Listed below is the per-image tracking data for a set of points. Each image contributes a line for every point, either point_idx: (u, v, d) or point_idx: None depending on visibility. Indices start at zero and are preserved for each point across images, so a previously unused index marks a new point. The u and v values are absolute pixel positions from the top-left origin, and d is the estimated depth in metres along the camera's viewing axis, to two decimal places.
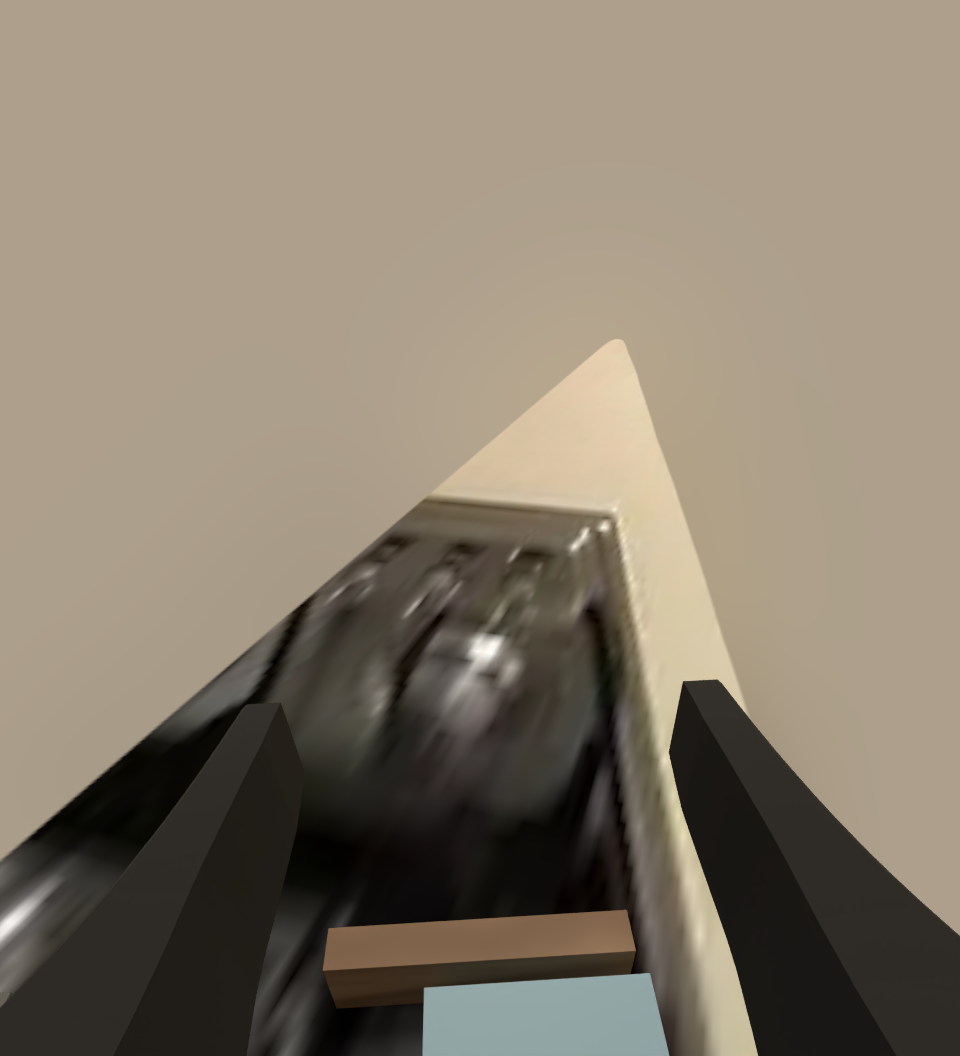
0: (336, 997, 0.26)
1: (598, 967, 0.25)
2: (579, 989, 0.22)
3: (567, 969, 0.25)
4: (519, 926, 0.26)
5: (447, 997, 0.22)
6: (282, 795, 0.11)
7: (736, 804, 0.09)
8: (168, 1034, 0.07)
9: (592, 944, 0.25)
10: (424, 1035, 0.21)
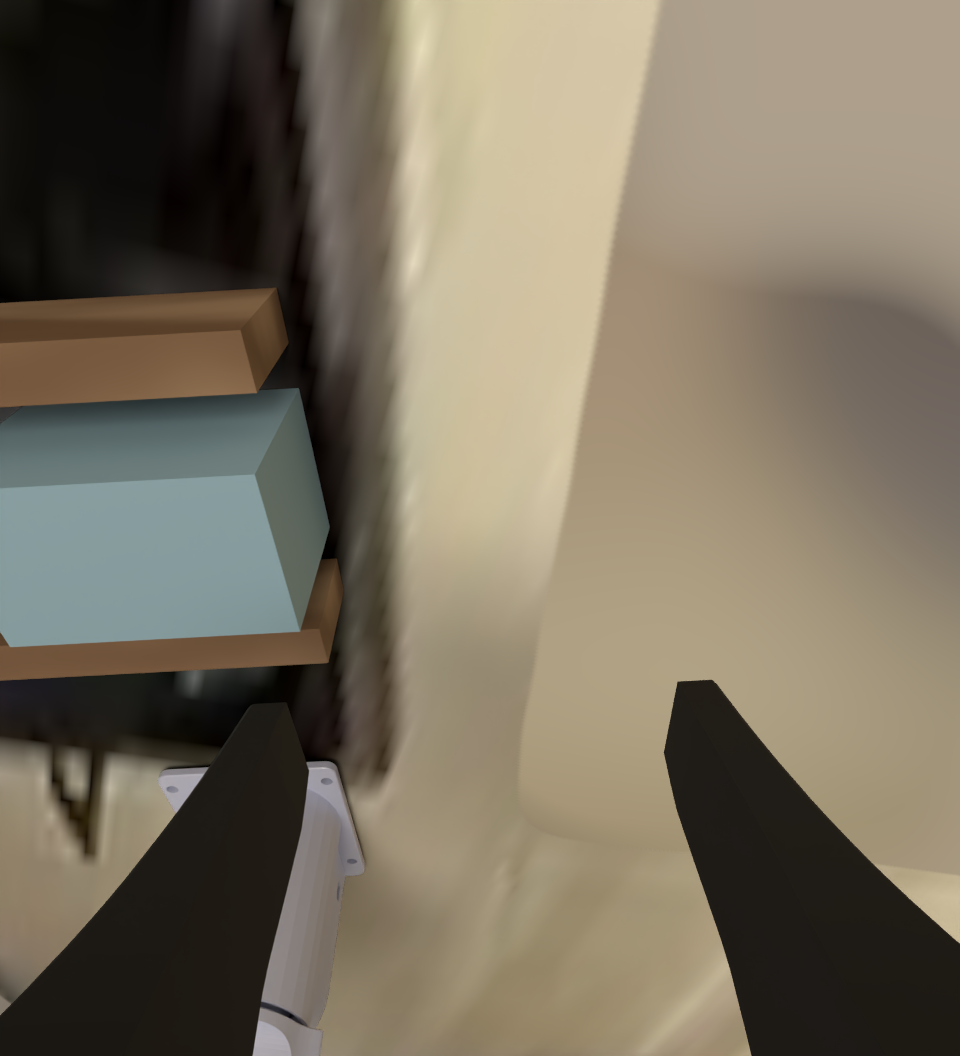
0: None
1: None
2: (149, 493, 0.15)
3: None
4: (52, 357, 0.15)
5: None
6: (287, 795, 0.11)
7: (729, 805, 0.09)
8: (176, 1034, 0.07)
9: (184, 384, 0.15)
10: None
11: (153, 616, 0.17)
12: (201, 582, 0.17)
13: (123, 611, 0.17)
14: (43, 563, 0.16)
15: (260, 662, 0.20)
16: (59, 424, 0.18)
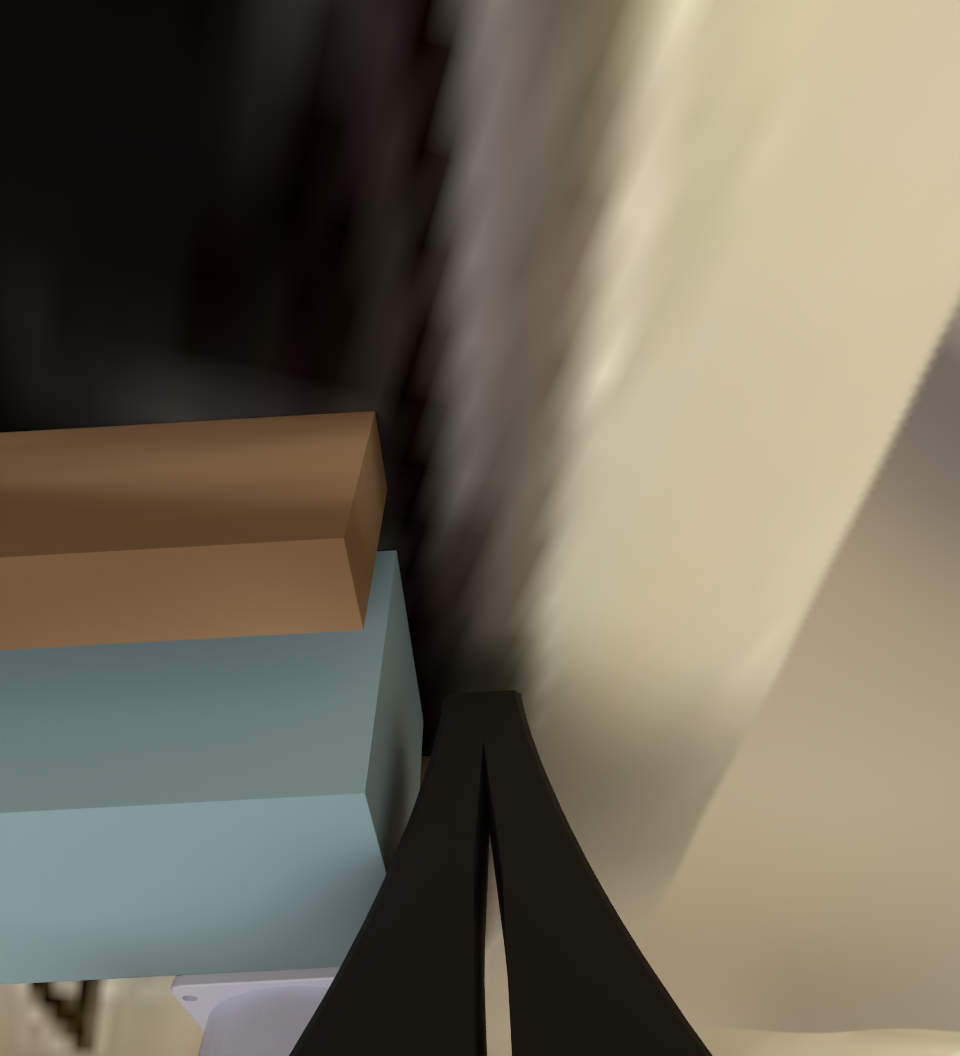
0: None
1: None
2: (170, 819, 0.08)
3: None
4: None
5: None
6: None
7: (493, 817, 0.09)
8: (477, 1018, 0.07)
9: (234, 619, 0.08)
10: None
11: (173, 953, 0.10)
12: (255, 918, 0.10)
13: (124, 948, 0.10)
14: None
15: None
16: None
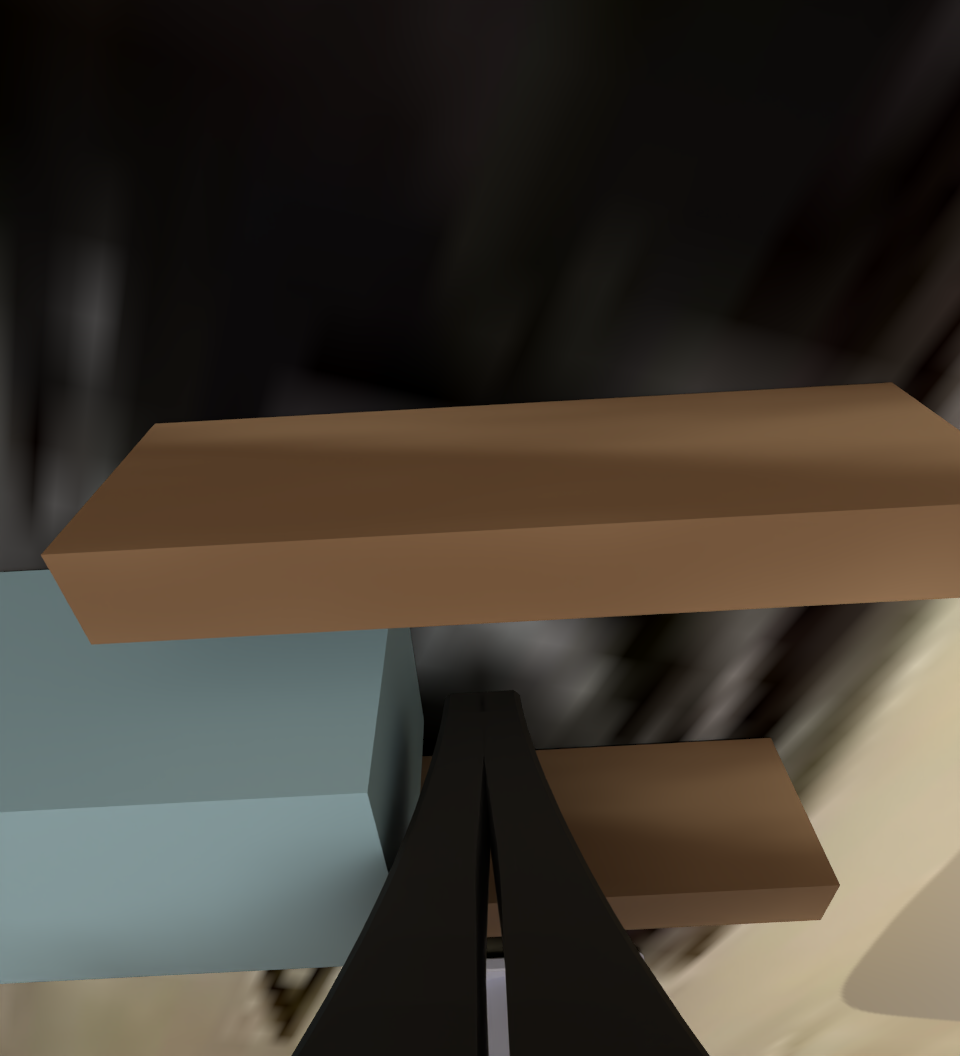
0: None
1: None
2: (173, 819, 0.08)
3: None
4: (679, 544, 0.08)
5: None
6: None
7: (491, 817, 0.09)
8: (480, 1018, 0.07)
9: (886, 584, 0.08)
10: None
11: (175, 952, 0.10)
12: (257, 916, 0.10)
13: (126, 947, 0.10)
14: None
15: (722, 921, 0.14)
16: (21, 630, 0.11)
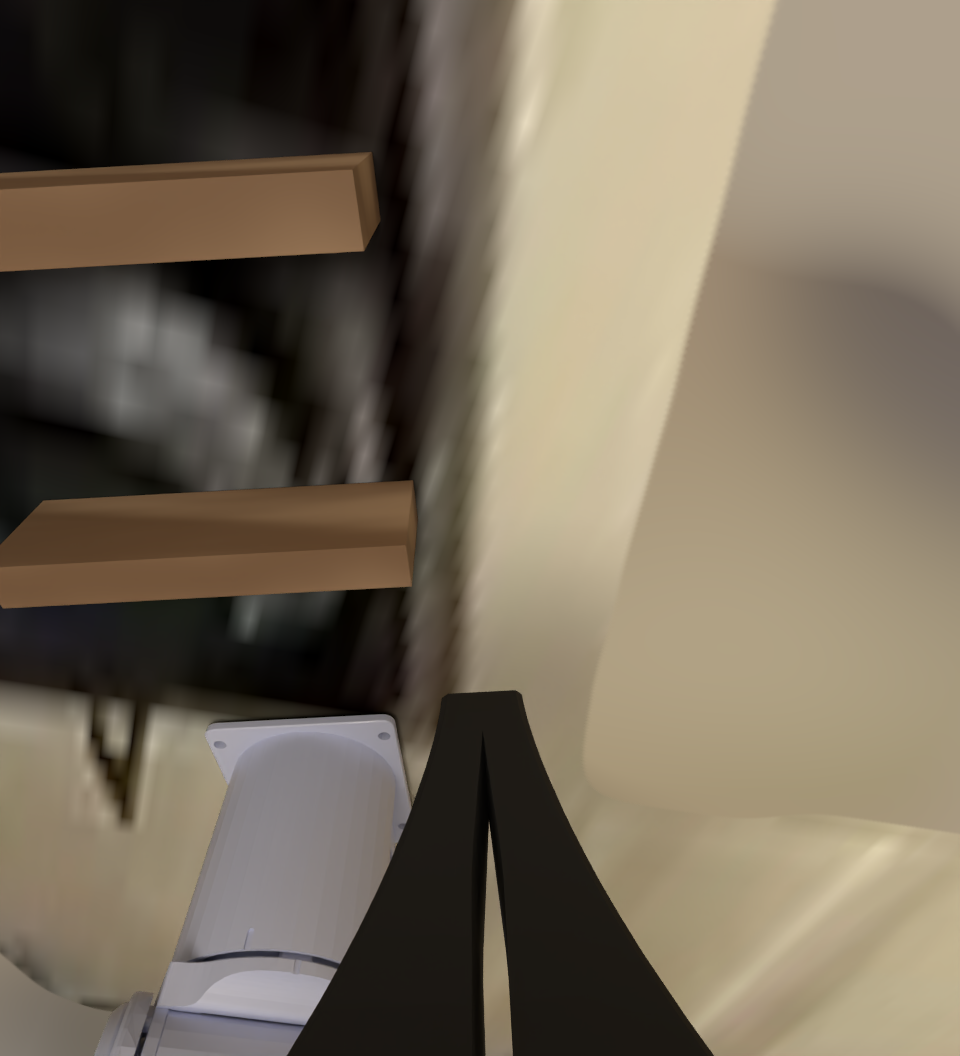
0: None
1: None
2: None
3: None
4: (136, 203, 0.13)
5: None
6: (486, 785, 0.11)
7: (494, 817, 0.09)
8: (476, 1019, 0.07)
9: (283, 239, 0.13)
10: None
11: None
12: None
13: None
14: None
15: (338, 585, 0.19)
16: None
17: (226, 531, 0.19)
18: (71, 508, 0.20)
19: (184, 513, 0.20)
